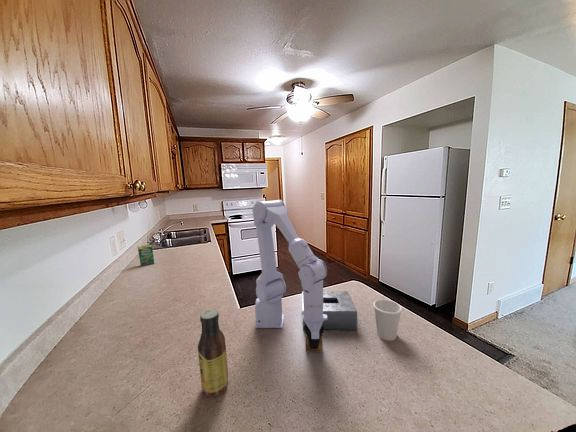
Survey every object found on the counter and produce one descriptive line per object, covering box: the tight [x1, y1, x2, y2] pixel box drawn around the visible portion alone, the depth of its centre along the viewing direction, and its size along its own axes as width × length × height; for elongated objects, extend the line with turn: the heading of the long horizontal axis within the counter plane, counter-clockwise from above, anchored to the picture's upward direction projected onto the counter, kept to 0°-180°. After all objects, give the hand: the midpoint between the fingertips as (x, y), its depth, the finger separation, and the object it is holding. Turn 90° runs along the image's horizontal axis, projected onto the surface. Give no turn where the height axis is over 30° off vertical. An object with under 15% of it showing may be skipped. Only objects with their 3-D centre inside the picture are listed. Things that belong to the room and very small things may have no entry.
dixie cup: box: [373, 299, 403, 342], centre depth 71 cm, size 8×8×10 cm
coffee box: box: [137, 244, 155, 267], centre depth 146 cm, size 8×3×13 cm, turn 125°
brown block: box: [304, 332, 324, 353], centre depth 65 cm, size 5×2×5 cm, turn 87°
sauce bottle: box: [197, 308, 229, 398], centre depth 53 cm, size 6×6×20 cm
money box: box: [301, 290, 358, 332], centre depth 81 cm, size 18×14×7 cm
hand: (313, 345), depth 66 cm, fingers closed on brown block, 2 cm apart
